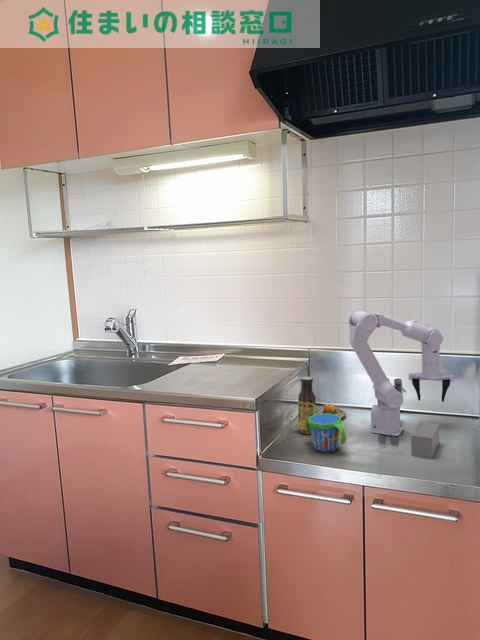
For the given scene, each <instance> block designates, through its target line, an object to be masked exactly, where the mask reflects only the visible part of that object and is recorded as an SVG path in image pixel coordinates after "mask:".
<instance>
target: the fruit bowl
mask: <svg viewBox="0 0 480 640" xmlns="http://www.w3.org/2000/svg"><path fill="white" fill-rule="evenodd" d="M322 413H328V414H335V415H338V416H339V417H340V418H341V420H342V421H344V420H345V419H346V417H347V416H346V412H345V411H344V410H342V409H340V408H339V407H337V408H336V406H335V404H333V403H330V402H328V403H326V404H325V405H324V406H323V409H320V410H317V411H316V414H322Z"/></svg>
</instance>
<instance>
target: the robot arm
mask: <svg viewBox="0 0 480 640" xmlns="http://www.w3.org/2000/svg"><path fill="white" fill-rule="evenodd" d="M347 323H348V329H349V338H348V339H349V343H350V346H351V347H352V349H353V351H354V352H355V355H356V356H357V358H358V360H359V361H360V363H361V365H362V366H363V368H364V370H365V372H366V373H367V375H368V377H369V379H370V381H371V382H372V384H373V385H372V388H373V391H374V397H375V398H376V400H377V402H378V403H377V404H373V405H372V406H371V411H370V425H371V426H370V433H373V434H379V435H386V436H387V435H388V436H394V437H395V436H396V437H399V436H400V435H401V433H402V432H403V430H404V427H403V426H401V407H402V405H403V403H404V396H403V394H402V393H401V392H400V391H398V390H397V389H396V387H395V386H394V385H393V383H392V382H391V381H390V380H389V378H388V376H387V375H386V373H385V371H384V370H383V368H382V366H381V365H380V363H379V361H378V359H377V357H376V355H375V353H374V352H373V350H372V348H371V346H370V345H369V342H368V340H369V338H370V336H371V335H372V334H373V333H374V331H376V329H377V328H379V329H380V328H381V327H383V326H384V327H386V328H389V329H394V330H396V331H400V332H401V335H402V336H403V337H405V338H408V339H410V340H413V341H417V342H420V343H421V372H415V373H413V372H412V373H411V372H410V373H408V380H409V381H411V384H412V386H413V388H414V389H415V390H414V391H416V392H415V393H416V395H417V400H418V401H419V402H420V401H421V389H420V387H421V384H420V383H421V382H420V381H437V382H438V381H440V382H441V383H442V384H441V385H442V387H441V390H442V391H441V403H442V402H443V403H444V402H445V398H446V394H447V391H448V389H449V387H450V386H451V382H454V380H455V379H454V378H455V377H454V374H447V373H440V371H441V370H440V368H441V367H440V365H441V364H440V362H441V361H440V359H441V358H440V357H441V355H440V350H441V344H442V343H443V340H444V336H443V335H442V332H440V330H439V329H435V328H433V327H430V325H429V324H425V325H424V324H421V323H418V321H417V320H416V319H411V320H407V321H405V322H404V321H400V320H399V319H396V318H392V317H390V316H388V315H386V314H383V313H378V312H373V311H367V310H366V311H365V310H364V309H355V310H353V312H351V314H350V316H349V319H348V321H347Z"/></svg>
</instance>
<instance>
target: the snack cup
mask: <svg viewBox="0 0 480 640" xmlns="http://www.w3.org/2000/svg"><path fill="white" fill-rule="evenodd" d="M305 430H306V433H310V432H311V434H310V435H311V439H312V443H313V447H314V450H316V451H318V452H322V453H328V452H330V453H331V452H334V451H336V449H337V448H338V446H339V445H338V444H340V445H341V446H342V445H344V444H346V442H347V435H346V432H345V428H344V426H343V424H342V421H341V418H340V417H339V416H338V415H335V414H328V413H322V414H315V415H312V416H310V417H309V418H308V419H307V421H306V428H305ZM339 436H340V440H339Z"/></svg>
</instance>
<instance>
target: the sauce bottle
mask: <svg viewBox="0 0 480 640" xmlns="http://www.w3.org/2000/svg"><path fill="white" fill-rule="evenodd" d="M313 381H314V380H313V377H312V376H301V378H300V382H301V388H300V389H301V390H300V391H299V392H300V393H299V394H298V400H297V401H298V402H297V428H298V433H300V434H303V435H312V434H311V432H310V433H306V430H305V428H306V421H307V419H308V418H309V417H310V416H312V415H315V414H316V412H317V411H316V410H317V409H316V408H317V407H316V406H317V404H316V395H315V393H314V392H313Z"/></svg>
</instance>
